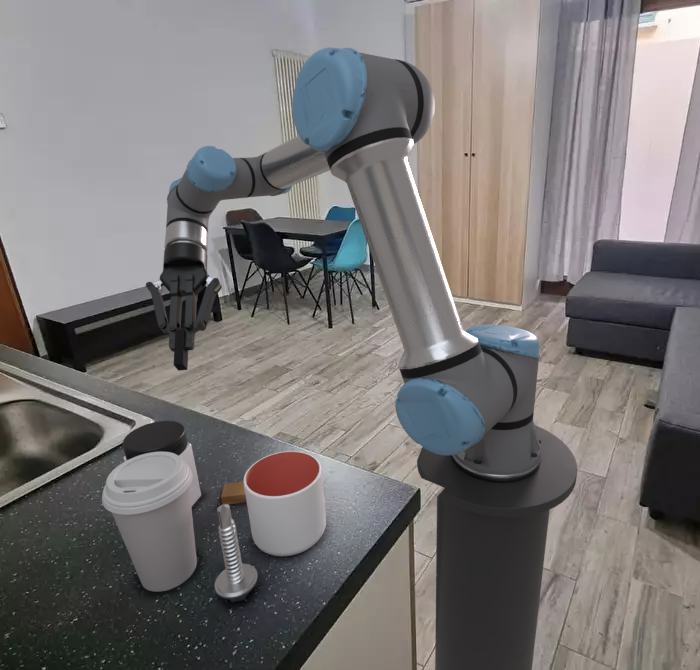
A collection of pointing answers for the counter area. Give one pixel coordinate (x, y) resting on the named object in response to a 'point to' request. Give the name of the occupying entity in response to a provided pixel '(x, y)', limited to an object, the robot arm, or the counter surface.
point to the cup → (285, 502)
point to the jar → (163, 446)
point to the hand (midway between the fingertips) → (180, 367)
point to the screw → (232, 562)
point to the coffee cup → (154, 517)
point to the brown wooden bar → (233, 493)
